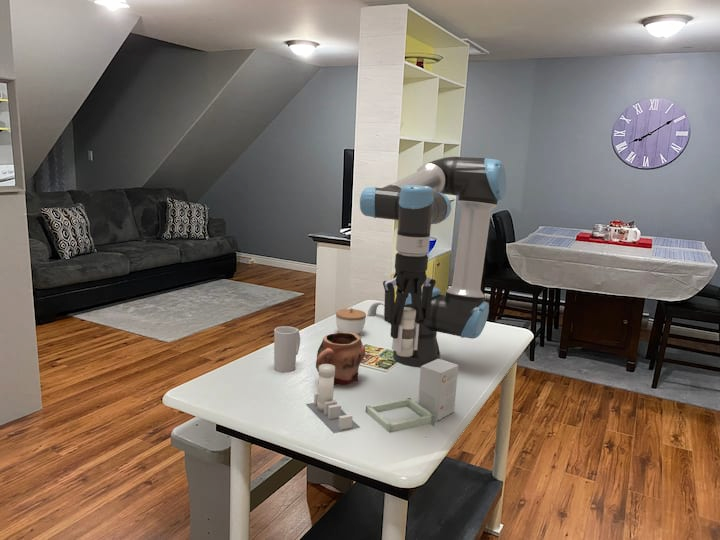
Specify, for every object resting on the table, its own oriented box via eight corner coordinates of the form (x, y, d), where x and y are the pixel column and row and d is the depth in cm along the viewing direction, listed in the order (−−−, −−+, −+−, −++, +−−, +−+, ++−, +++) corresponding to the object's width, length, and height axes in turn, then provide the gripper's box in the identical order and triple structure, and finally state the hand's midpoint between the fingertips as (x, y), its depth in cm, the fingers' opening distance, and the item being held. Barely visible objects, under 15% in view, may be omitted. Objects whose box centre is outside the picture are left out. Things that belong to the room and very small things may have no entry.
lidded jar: (330, 330, 206) (331, 305, 204) (357, 327, 210) (358, 303, 208) (342, 339, 196) (343, 314, 194) (369, 337, 201) (371, 311, 199)
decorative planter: (338, 402, 148) (340, 352, 145) (299, 391, 154) (301, 342, 151) (372, 377, 166) (375, 332, 163) (336, 368, 171) (338, 324, 168)
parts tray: (408, 408, 147) (409, 397, 147) (433, 427, 138) (434, 416, 137) (365, 417, 141) (365, 406, 140) (388, 437, 132) (389, 426, 131)
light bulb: (406, 349, 138) (410, 306, 136) (416, 355, 135) (419, 311, 132) (392, 351, 136) (396, 307, 134) (401, 357, 133) (405, 312, 131)
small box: (434, 403, 151) (438, 357, 148) (454, 412, 147) (459, 364, 144) (416, 413, 145) (420, 365, 142) (437, 422, 141) (441, 372, 138)
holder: (330, 404, 147) (332, 359, 144) (360, 433, 133) (363, 383, 130) (305, 409, 143) (307, 363, 141) (333, 439, 130) (335, 388, 127)
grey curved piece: (426, 327, 217) (428, 309, 215) (408, 333, 208) (409, 314, 207) (379, 313, 232) (380, 296, 231) (360, 318, 223) (361, 300, 222)
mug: (285, 374, 164) (287, 335, 162) (268, 368, 168) (269, 330, 165) (307, 364, 173) (309, 327, 170) (290, 359, 176) (291, 322, 174)
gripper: (389, 257, 123) (382, 359, 128) (451, 254, 131) (442, 350, 136) (372, 251, 129) (365, 348, 134) (432, 249, 138) (424, 340, 143)
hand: (404, 349), depth 135 cm, fingers closed on light bulb, 4 cm apart
